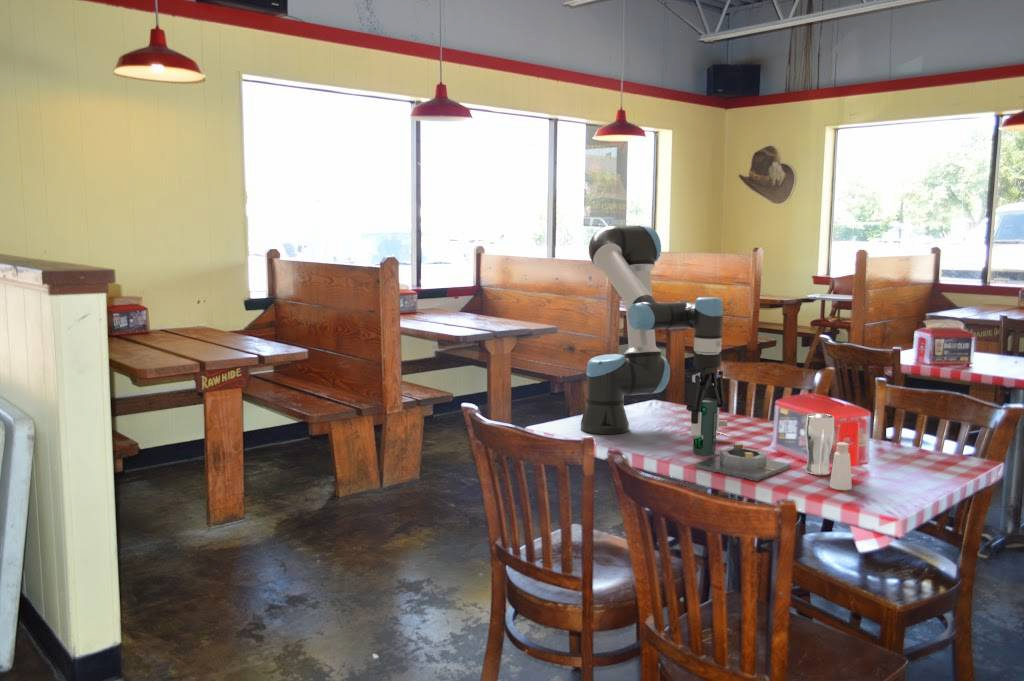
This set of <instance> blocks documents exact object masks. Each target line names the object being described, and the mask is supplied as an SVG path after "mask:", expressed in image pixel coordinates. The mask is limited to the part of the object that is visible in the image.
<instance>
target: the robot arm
mask: <svg viewBox="0 0 1024 681" xmlns="http://www.w3.org/2000/svg"><path fill="white" fill-rule="evenodd" d="M661 243H662V242H661V239H660V236H659V234H658V233H657V231H656V230H655V229H654V228H652V227H651V226H646V225H645V226H644V225H643V226H642V225H607V226H603V227H601V228H600V229H598V230H596V231H595V232H594V234H593V235H592V236H591V239H590V241H589V243H588V244H589V245H588V254H589V258H590V261H591V262H592V264H594V267H596V268H597V270H600V271H602V272H603V273H604V275H605V277H606V278H607V279H608V280H609V282H610V284H611V285H612V286H613V287H614V289H615V290H616V292H617V293H618V296H620V298H621V299H622V301H623V302H624V303H625V310H626V312H625V313H626V314H625V315H626V325H627V326H626V327H627V341H628V348H627V349H626V350H625V351H624V353H623V354H624V355H623V354H619V353H612V354H610V353H609V354H608V353H607V354H600V355H598V356H597V355H596V356H594V357H592V358H590V359H589V360H588V362H587V368H586V404H585V405H586V406H585V408H584V412H583V414H582V418H581V419H580V430H581V431H584V432H586V433H589V434H597V435H619V434H623V433H627V432H628V431H629V430H630V426H629V425H630V422H629V421H628V420H629V419H628V418H627V413H626V410H625V406H624V405H625V404H624V403H625V402H624V397H625V396H636V395H637V396H639V395H652V394H657V393H661V392H663V391H664V390H665V389H666V387H667V385H668V383H669V381H670V377H671V376H670V375H671V368H670V363H669V362H668V359H667V358H666V357H664V356H662V351H661V349H659V348H658V347H657V344H656V331H655V330H667V329H668V330H673V329H692V330H694V336H693V337H694V339H693V351H694V353H693V364H692V365H693V366H694V367H696V373H695V374H690V375H689V388H688V395H687V401H686V402H687V403H686V410H687V411H688V412H690V413H691V416H690V417H691V420H690V435H693V436H694V435H698V436H700V435H701V413H702V412H699V411H700V408H701V404H702V401H703V398H705V397H704V396H705V393H706V391H707V393H708V396H709V397H708V398H709V399H715V400H717V423H716V431H719V428H720V426H719V420H720V408H723V407H724V403H725V393H724V382H723V381H724V379H723V377H724V371H723V370H720V369H718V368H720V367H721V366H722V354H721V352H722V345H723V342H722V341H723V340H722V336H723V321H724V310H723V308H724V307H723V306H724V304H723V303H724V302H723V300H722V298H720V297H714V296H699V297H697V298H696V299H695V302H691V301H689V300H679V301H676V302H675V301H674V302H657V300H656V299H655V298H654V297H653V288H652V275H651V274H652V271H653V269H654V268H655V267H656V265H655V264H656V262H657V261H658V260H659V258H660V257H661V252H662V244H661ZM618 433H619V434H618Z"/></svg>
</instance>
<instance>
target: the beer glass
mask: <svg viewBox="0 0 1024 681" xmlns="http://www.w3.org/2000/svg"><path fill="white" fill-rule="evenodd" d="M804 436H805V444H806V452H807V453H806V454H807V461H806V465H805V473H807V474H809V473H810V474H809V475H813V474H814V476H829V475H830V474H831V468H830V455H831V451H832V448H833V443H834V437H835V416H834V415H832V414H827V413H822V412H821V413H820V412H819V413H817V412H815V413H814V412H812V413H808V414H807V415H806V422H805V434H804Z"/></svg>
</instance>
